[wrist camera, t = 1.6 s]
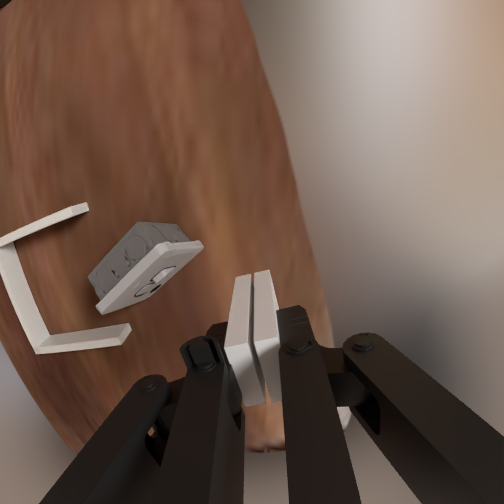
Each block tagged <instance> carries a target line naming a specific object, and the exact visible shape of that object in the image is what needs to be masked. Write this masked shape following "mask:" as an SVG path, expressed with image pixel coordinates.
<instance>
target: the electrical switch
mask: <svg viewBox="0 0 504 504" xmlns="http://www.w3.org/2000/svg"><path fill="white" fill-rule="evenodd" d="M139 223H140V224H141V225H140V224H139ZM141 226H142V227H141ZM143 229H144V230H143ZM128 237H129V238H128ZM203 248H204V246H203V245H202V244H201V242H200V241H199V240H197V241H192V242H191V241H190V240H189V239H188V237H187V236H186V235H184V234H183V232H182V231H181V230H180V228H179V227H178V226H177V224H165V223H151V222H137V223H136V224H135V225H134V226H133V227H132V228H131V229H130V230H129V231H128V232H127V233H126V235H125V236H124V237H123V238H122V239H121V240H120V241H119V242H118V243H117V244H116V245H115V246H114V247H113V248H112V250H111V251H110V252H109V253H108V254H107V255H106V256H105V257H104V258H103V259H102V261H101V262H100V263H99V264H98V265H97V266H96V267H95V268H94V270H93V271H92V272H91V273H90V274H89V275H88V279H89V281H90V282H91V284H92V285H93V287H94V289H95V292H96V294H97V295H98V297H99V299H100V302H99V303H98V304H97V305H96V308H97V310H98V311H99V312H100V313H101V314H102V315H104V314H107V313H110V312H113V311H116V310H119V309H121V308H124V307H127V306H129V305H132V304H135V303H138V302H140V301H143V300H145V299H147V298H148V297H150V296H151V295H152V294H153V293H155V292H156V291H157V290H158V289H159V288H160V287H161V286H162V285H163V284H164V283H166V282H167V281H168V280H169V279H170V278H171V277H172V276H173V275H175V274H176V273H177V272H178V271H179V270H180V269H181V268H182V267H183V266H185V265H186V264H187V263H188V262H189V261H190V260H191V259H193V258H194V257H195V256H196V255H197V254H198V253H199V252H200V251H201V250H203ZM125 251H126V252H127V253H126V252H125ZM111 270H113V271H115V272H112V271H111ZM96 273H97V274H96Z"/></svg>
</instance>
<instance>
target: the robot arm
mask: <svg viewBox="0 0 504 504" xmlns="http://www.w3.org/2000/svg"><path fill="white" fill-rule="evenodd" d="M9 1H10V0H0V7H2V6H3V5H5V4H6V3H8V2H9ZM179 350H180V352H181V355H182V357H183V359H184V362H185V364H186V366H187V369H188V370H187V373H186V377H183V378H181V379H178V380H175V381H172V382H169V383H168V382H167V380H166V378H165V377H164V376H162V375H158V374H156V375H148V376H145V377H143V378H142V379H140V380H138V381H137V382H136V383H135V384H134V385H133V386H132V388H131V389H130V390H129V391H128V393H127V394H126V395H125V396H124V398H123V399H122V400H121V401H120V402H119V404H118V405H117V406H116V407H115V409H114V410H113V411H112V412H111V414H110V415H109V416H108V417H107V419H106V420H105V421H104V422H103V424H102V425H101V426H100V427H99V429H98V430H97V431H96V432H95V434H94V435H93V436H92V437H91V439H90V440H89V441H88V442H87V444H86V445H85V446H84V447H83V449H82V450H81V451H80V452H79V454H78V455H77V457H76V458H75V459H74V460H73V461H72V463H71V464H70V465H69V466H68V468H67V469H66V470H65V471H64V473H63V474H62V475H61V477H60V478H59V479H58V480H57V482H56V483H55V484H54V486H53V487H52V488H51V489H50V490H49V492H48V493H47V494H46V496H45V497H44V498H43V499H42V501H41V502H40V503H39V504H243V492H244V488H243V487H244V445H245V414H244V411H243V408H242V406H241V405H242V399H243V401H244V404H245V407H247V406H253V405H259V404H265V403H266V390H265V381H266V385H267V388H268V391H269V395H270V398H271V401H272V402H276V401H281V400H282V406H283V419H284V433H285V447H286V462H287V477H288V492H289V504H361V500H360V496H359V491H358V487H357V483H356V479H355V475H354V471H353V467H352V463H351V460H350V456H349V452H348V448H347V444H346V440H345V436H344V433H343V429H342V425H341V421H340V418H339V414H338V411H337V407H346V406H349V408H350V411H351V412H352V413H353V415H354V416H355V417H356V419H357V420H358V421H359V423H360V424H361V425H362V427H363V428H364V429H365V430H366V432H367V433H368V435H369V436H370V437H371V438H372V440H373V441H374V443H375V444H376V445H377V446H378V447H379V449H380V450H381V451H382V453H383V454H384V456H385V457H386V458H387V459H388V461H389V462H390V463H391V465H392V466H393V467H394V468H395V470H396V471H397V472H398V474H399V475H400V476H401V477H402V479H403V480H404V481H405V483H406V484H407V485H408V487H409V488H410V489H411V490H412V492H413V493H414V494H415V495H416V497H417V498H418V499H419V501H420V502H421V503H422V504H504V436H502V435H501V434H500V433H499V432H498V431H496V430H495V429H494V428H493V427H492V426H490V425H489V424H488V423H487V422H485V421H484V420H483V419H482V418H481V417H479V416H478V415H477V414H476V413H474V412H473V411H472V410H471V409H470V408H468V407H467V406H466V405H465V404H464V403H463V402H461V401H460V400H459V399H458V398H456V397H455V396H454V395H453V394H452V393H450V392H449V391H448V390H447V389H445V388H444V387H443V386H442V385H440V384H439V383H438V382H437V381H436V380H434V379H433V378H432V377H431V376H429V375H428V374H427V373H426V372H424V371H423V370H422V369H421V368H420V367H418V366H417V365H416V364H415V363H413V362H412V361H411V360H410V359H408V358H407V357H406V356H405V355H404V354H402V353H401V352H400V351H398V350H397V349H396V348H395V347H394V346H392V345H391V344H390V343H389V342H387V341H386V340H385V339H384V338H382V337H381V336H379V335H377V334H374V333H360V334H356V335H353V336H351V337H350V338H348V339H347V340H346V341H345V342H344V343H343V347H342V348H327V347H323V346H321V345H319V344H318V343H317V341H316V340H315V337H314V334H313V331H312V328H311V325H310V322H309V319H308V316H307V313H306V310H305V309H304V308H303V307H301V306H299V305H297V306H293V307H289V308H284V309H280V310H279V308H278V304H277V300H276V296H275V291H274V287H273V283H272V279H271V275H270V271H269V270H265V271H261V272H257V273H255V278H254V285H253V282H252V278H251V274H248V275H244V276H239V277H236V280H235V286H234V291H233V297H232V303H231V309H230V315H229V321H228V322H223V323H218V324H213V325H212V326H211V327H210V329H209V330H208V331H207V333H206V336H200V337H196V338H193V339H191V340H189V341H187V342H186V343H185V344H183V345H182V346H181V348H180V349H179ZM151 427H152V428H153V430H154V431H155V432H154V433H153V435H152V436H149V434H148V431H149V430H150V428H151Z"/></svg>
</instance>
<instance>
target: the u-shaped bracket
mask: <svg viewBox="0 0 504 504" xmlns="http://www.w3.org/2000/svg"><path fill="white" fill-rule="evenodd" d="M87 211H89V208H88V205H87V202H85V203H82V204H78V205H75V206H71V207H68V208H66V209H64V210H61V211H59V212H56V213H54V214H52V215H49V216H47V217H45V218H42V219H40V220H38V221H35V222H33V223H31V224H29V225H27V226H24V227H22V228H20V229H18V230H16V231H14V232H11V233H9V234H7V235H5V236H3V237H1V238H0V273H1V276H2V279H3V281H4V284H5V287H6V289H7V292H8V294H9V297H10V299H11V302H12V304H13V306H14V309H15V311H16V313H17V316H18V318H19V320H20V322H21V325H22V327H23V329H24V331H25V333H26V335H27V337H28V339H29V341H30V343H31V345H32V347H33V349H34V351H35V353H36V354H45V353H56V352H66V351H75V350H84V349H93V348H101V347H109V346H116V345H122V344H123V342H124V341H125V339H126V338H127V336H128V335H129V333H130V332H131V330H132V329H131V327H130V325H129V323H125V324H119V325H114V326H108V327H101V328H95V329H89V330H83V331H76V332H70V333H63V334H56V335H49V332H48V330H47V328H46V326H45V324H44V322H43V319H42V317H41V315H40V313H39V310H38V308H37V306H36V303H35V301H34V299H33V296H32V294H31V291H30V289H29V286H28V283H27V281H26V278H25V275H24V273H23V270H22V267H21V264H20V261H19V258H18V255H17V252H16V249H15V246H14V243H13V241H15V240H17V239H20V238H22V237H24V236H27V235H29V234H31V233H34V232H36V231H38V230H41V229H43V228H46V227H48V226H51V225H53V224H56V223H58V222H61V221H63V220H66V219H68V218H71V217H73V216H76V215H79V214H81V213H84V212H87Z"/></svg>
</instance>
